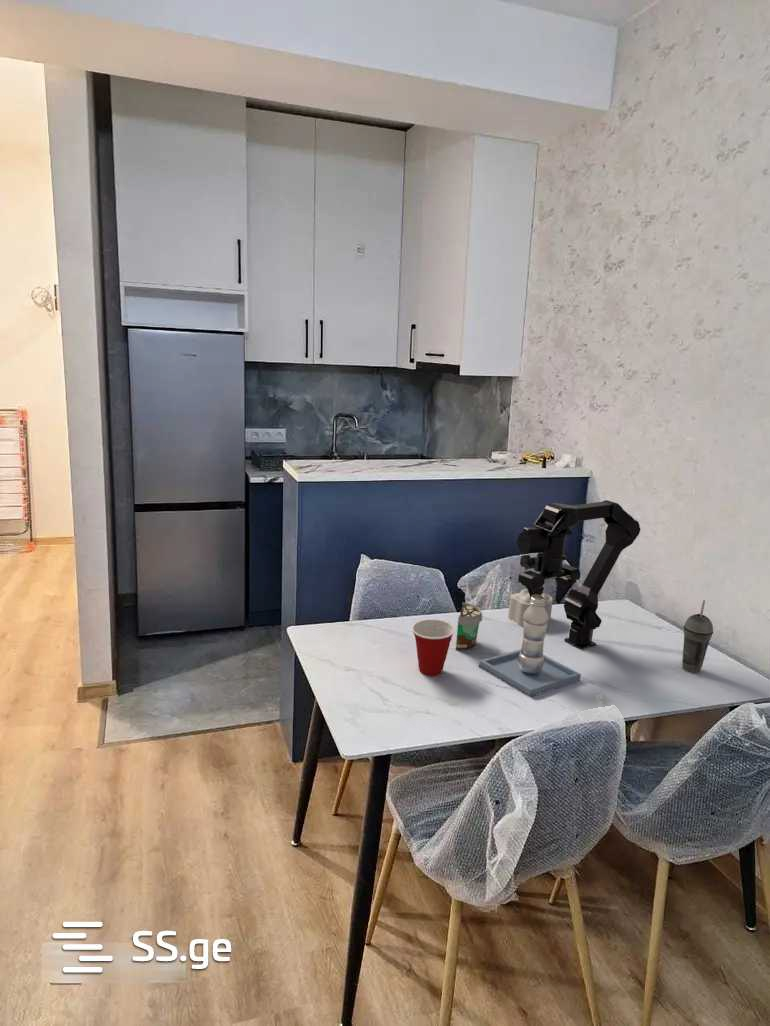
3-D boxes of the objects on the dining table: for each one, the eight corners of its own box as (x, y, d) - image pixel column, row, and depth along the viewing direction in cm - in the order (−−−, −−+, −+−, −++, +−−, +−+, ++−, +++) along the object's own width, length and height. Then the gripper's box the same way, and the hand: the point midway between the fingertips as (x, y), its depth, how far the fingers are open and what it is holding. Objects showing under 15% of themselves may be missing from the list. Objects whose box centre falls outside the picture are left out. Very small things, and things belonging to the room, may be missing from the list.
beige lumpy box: (503, 616, 217) (506, 589, 215) (537, 611, 222) (540, 585, 220) (524, 628, 208) (527, 601, 206) (558, 623, 213) (561, 596, 211)
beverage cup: (704, 666, 189) (717, 597, 184) (707, 678, 182) (720, 606, 177) (675, 661, 191) (687, 592, 186) (677, 672, 184) (689, 601, 180)
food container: (477, 655, 187) (481, 620, 185) (455, 651, 188) (458, 617, 186) (481, 637, 199) (484, 604, 196) (459, 634, 200) (462, 601, 198)
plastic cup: (399, 667, 177) (402, 623, 174) (431, 658, 183) (435, 615, 180) (427, 685, 168) (431, 638, 166) (460, 674, 175) (464, 630, 172)
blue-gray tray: (527, 653, 190) (528, 647, 190) (579, 680, 176) (580, 674, 175) (478, 666, 180) (479, 660, 180) (529, 697, 166) (530, 690, 165)
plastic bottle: (517, 675, 175) (526, 600, 170) (516, 664, 182) (524, 591, 177) (543, 678, 174) (553, 603, 170) (541, 666, 181) (550, 594, 176)
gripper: (553, 539, 198) (547, 591, 202) (506, 546, 187) (500, 601, 191) (585, 550, 189) (577, 604, 193) (537, 558, 179) (530, 615, 182)
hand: (546, 605), depth 190 cm, fingers open, 9 cm apart
